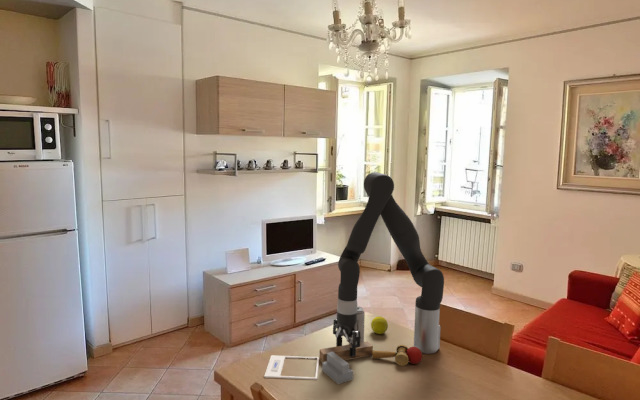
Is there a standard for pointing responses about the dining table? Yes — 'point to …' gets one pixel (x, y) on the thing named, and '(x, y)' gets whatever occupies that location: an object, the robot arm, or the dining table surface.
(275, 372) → the photo frame
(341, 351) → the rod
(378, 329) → the tennis ball
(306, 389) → the dining table surface
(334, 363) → the fulcrum
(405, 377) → the dining table surface
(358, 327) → the energy drink can
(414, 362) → the kendama
